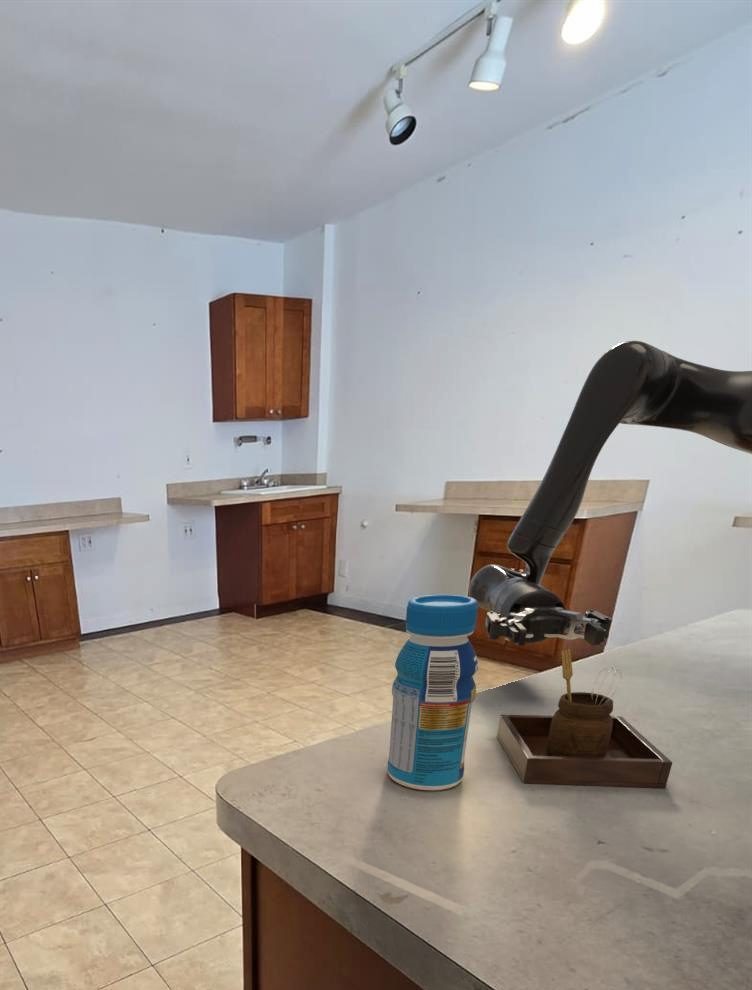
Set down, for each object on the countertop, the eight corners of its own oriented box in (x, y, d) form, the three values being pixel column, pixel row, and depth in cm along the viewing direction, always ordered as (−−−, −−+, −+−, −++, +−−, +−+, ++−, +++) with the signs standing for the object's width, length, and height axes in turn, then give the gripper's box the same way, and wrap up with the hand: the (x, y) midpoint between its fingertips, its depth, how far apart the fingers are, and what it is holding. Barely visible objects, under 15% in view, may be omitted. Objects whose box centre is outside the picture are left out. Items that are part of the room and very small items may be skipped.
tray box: (616, 738, 79) (621, 716, 77) (665, 788, 67) (673, 762, 65) (496, 736, 82) (500, 714, 81) (523, 783, 70) (527, 758, 69)
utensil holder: (587, 771, 70) (611, 665, 65) (532, 754, 75) (550, 654, 70) (615, 757, 73) (640, 654, 68) (560, 741, 78) (579, 644, 73)
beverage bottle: (370, 777, 74) (382, 603, 65) (410, 755, 78) (426, 590, 70) (439, 800, 68) (461, 611, 59) (478, 775, 72) (503, 596, 64)
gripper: (478, 586, 94) (502, 609, 80) (586, 583, 90) (632, 606, 76) (471, 636, 97) (494, 667, 83) (576, 635, 94) (618, 667, 79)
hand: (560, 638), depth 79 cm, fingers open, 8 cm apart
